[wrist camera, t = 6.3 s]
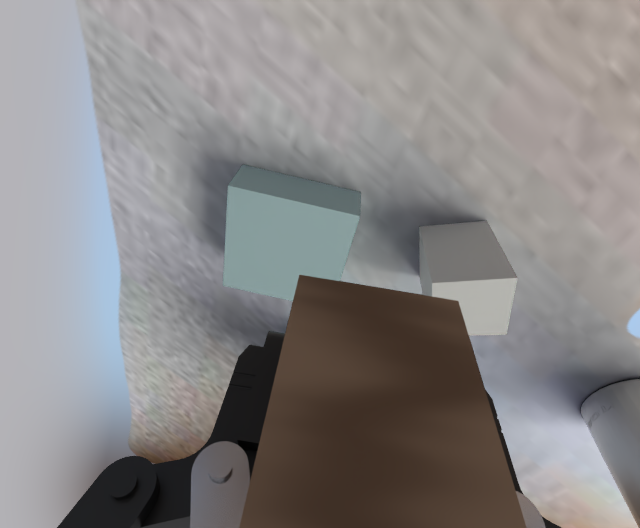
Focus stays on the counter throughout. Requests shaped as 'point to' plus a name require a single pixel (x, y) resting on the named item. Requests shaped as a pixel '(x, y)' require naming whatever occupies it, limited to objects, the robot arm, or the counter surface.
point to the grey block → (468, 273)
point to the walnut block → (378, 419)
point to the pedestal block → (285, 231)
